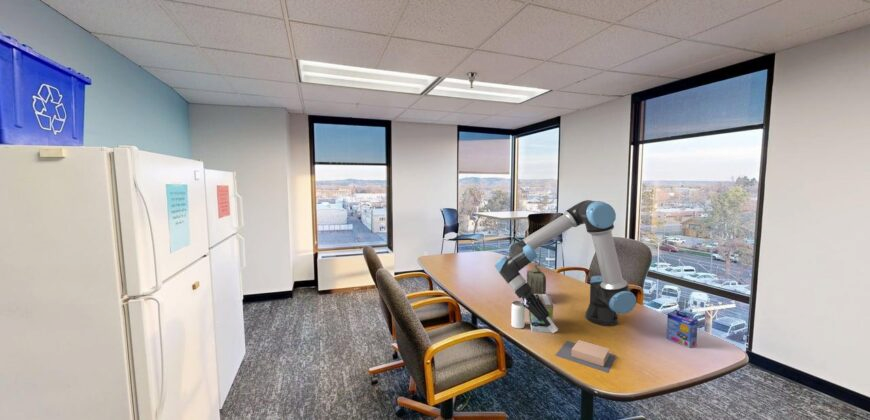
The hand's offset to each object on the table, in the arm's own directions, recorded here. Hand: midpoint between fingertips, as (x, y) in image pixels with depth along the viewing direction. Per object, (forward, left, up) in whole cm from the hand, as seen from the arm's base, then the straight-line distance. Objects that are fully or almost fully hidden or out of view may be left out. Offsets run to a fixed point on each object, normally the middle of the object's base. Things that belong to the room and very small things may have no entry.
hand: (555, 331), depth 142 cm
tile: (-7, +4, -5) cm, 10 cm away
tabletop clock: (0, -56, -7) cm, 56 cm away
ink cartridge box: (-57, -13, -7) cm, 59 cm away
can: (+14, -19, -7) cm, 25 cm away
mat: (-11, +6, -7) cm, 15 cm away
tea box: (+3, -20, -7) cm, 21 cm away
